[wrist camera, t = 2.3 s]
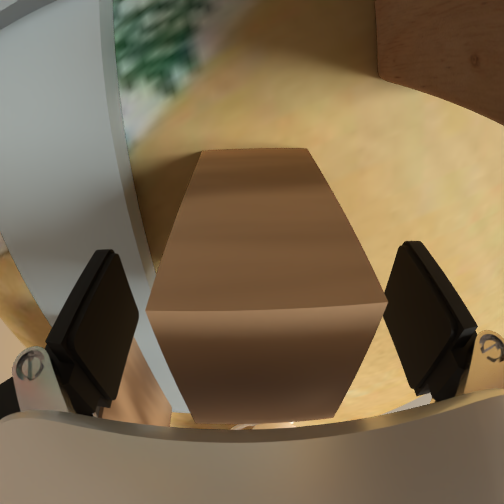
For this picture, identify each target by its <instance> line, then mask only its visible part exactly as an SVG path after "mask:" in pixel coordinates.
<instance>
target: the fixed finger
mask: <svg viewBox="0 0 504 504" xmlns="http://www.w3.org/2000/svg"><path fill="white" fill-rule="evenodd" d="M95 413H96V415H97V417H98V418H103V419H109V420H115V421H122V422H130V423H137V424H145V425H154V426H164V427H170V421H171V413H172V407H171V405H170V403H169V401H168V400H167V398H166V396H165V395H164V393H163V391H162V389H161V388H160V386H159V384H158V382H157V380H156V379H155V377H154V375H153V373H152V371H151V369H150V367H149V365H148V364H147V362H146V360H145V358H144V356H143V354H142V352H141V350H140V348H139V346H138V344H137V342H136V340H135V338H134V337H133V340H132V344H131V347H130V350H129V354H128V357H127V361H126V365H125V368H124V372H123V376H122V379H121V383H120V387H119V391H118V395H117V398H116V400H112V403H111V407H110V408H106V407H100V406H97V408H96V412H95Z"/></svg>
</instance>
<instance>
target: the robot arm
mask: <svg viewBox="0 0 504 504" xmlns="http://www.w3.org/2000/svg"><path fill="white" fill-rule="evenodd" d="M384 294H385V296H386V298H387V301H388V304H387V306H386V309H385V311H384V314H383V318H384V320H385V323H386V325H387V327H388V330H389V332H390V335H391V337H392V340H393V343H394V345H395V348H396V350H397V353H398V356H399V358H400V361H401V364H402V366H403V369H404V372H405V375H406V377H407V380H408V383H409V386H410V387H411V388H412V389H414V390H415V393H416V396H419V395H423V394H427V393H431V395H432V400H431V402H430V404H427V405H423V406H420V407H415V408H411V409H408V410H403V411H399V412H394V413H390V414H385V415H380V416H375V417H369V418H364V419H358V420H352V421H345V422H338V423H330V424H322V425H313V426H303V427H291V428H276V429H250V430H218V429H191V428H176V427H164V426H154V425H145V424H137V423H130V422H122V421H115V420H109V419H103V418H98V417H97V415H96V413H95V412H96V408H97V406H100V407H106V408H110V407H111V403H112V400H116V398H117V395H118V391H119V387H120V383H121V379H122V376H123V372H124V368H125V365H126V361H127V357H128V354H129V350H130V347H131V344H132V340H133V337H134V333H135V330H136V327H137V324H138V320H139V311H138V308H137V305H136V303H135V300H134V297H133V294H132V291H131V289H130V286H129V283H128V280H127V277H126V274H125V271H124V268H123V265H122V262H121V259H120V256H119V254H117V253H115V252H114V251H113V250H112V249H102V250H96V251H95V252H94V254H93V255H92V257H91V259H90V260H89V262H88V264H87V265H86V267H85V269H84V270H83V272H82V274H81V275H80V277H79V279H78V280H77V282H76V284H75V286H74V287H73V289H72V291H71V293H70V295H69V296H68V298H67V300H66V302H65V304H64V306H63V308H62V309H61V311H60V313H59V315H58V317H57V319H56V321H55V323H54V325H53V327H52V329H51V331H50V333H49V335H48V337H47V339H46V341H45V342H46V343H47V345H46V347H45V349H43V348H42V347H38V346H33V347H29V348H27V349H25V350H24V351H22V352H21V353H20V354H19V355H18V356H17V358H16V360H15V362H14V364H13V368H12V375H13V377H11V378H10V379H8V380H6V381H5V382H3V383H2V384H0V504H504V339H503V338H502V337H501V336H500V335H499V334H497V333H496V332H493V331H490V330H484V331H482V332H480V333H479V334H478V335H477V333H476V331H475V330H476V328H477V327H478V326H477V324H476V322H475V321H474V319H473V317H472V316H471V314H470V312H469V311H468V309H467V307H466V306H465V304H464V303H463V301H462V299H461V298H460V296H459V295H458V293H457V292H456V290H455V289H454V287H453V286H452V284H451V283H450V281H449V280H448V278H447V277H446V275H445V274H444V272H443V271H442V270H441V268H440V267H439V265H438V264H437V262H436V261H435V260H434V258H433V257H432V256H431V254H430V253H429V251H428V250H427V249H426V247H425V246H424V245H423V243H422V242H420V241H405V242H404V243H403V245H402V246H400V247H399V248H398V251H397V254H396V258H395V261H394V264H393V268H392V271H391V274H390V277H389V280H388V283H387V286H386V289H385V292H384Z"/></svg>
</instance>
